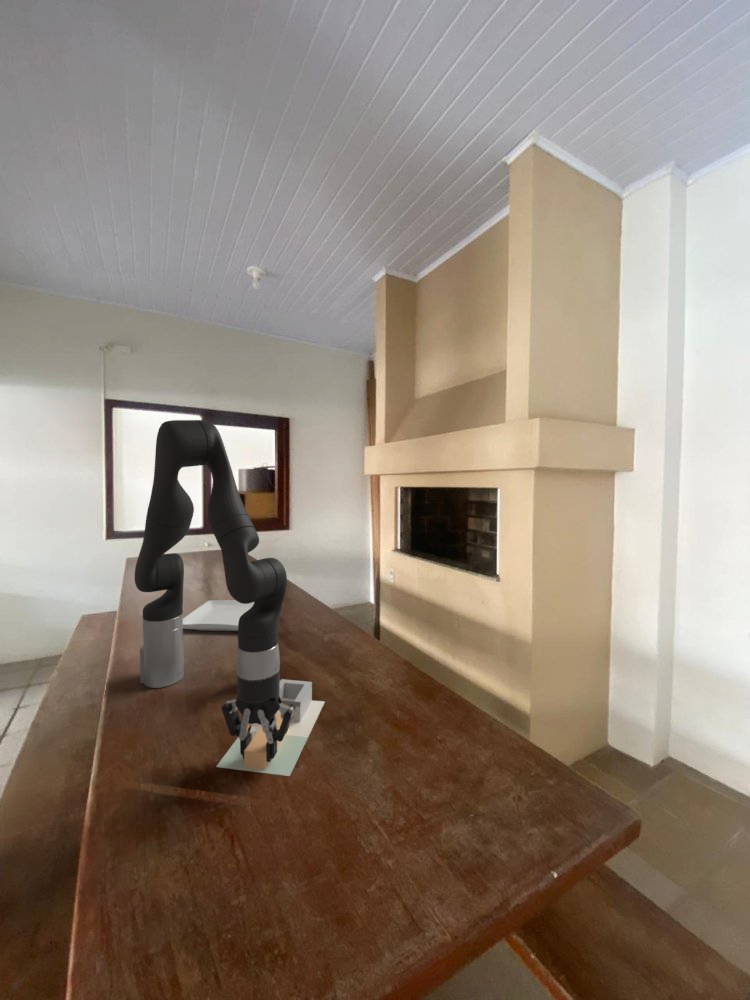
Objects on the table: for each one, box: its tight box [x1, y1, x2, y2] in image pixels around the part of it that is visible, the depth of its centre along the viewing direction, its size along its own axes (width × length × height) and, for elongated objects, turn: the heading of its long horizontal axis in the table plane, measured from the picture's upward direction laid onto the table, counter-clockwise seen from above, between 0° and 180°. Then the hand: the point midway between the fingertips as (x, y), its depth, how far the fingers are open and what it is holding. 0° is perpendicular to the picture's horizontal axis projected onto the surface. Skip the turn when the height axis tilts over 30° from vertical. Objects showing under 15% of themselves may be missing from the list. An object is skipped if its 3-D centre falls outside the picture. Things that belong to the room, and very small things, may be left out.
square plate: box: [183, 599, 254, 632], centre depth 147 cm, size 27×27×4 cm
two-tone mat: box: [215, 678, 326, 777], centre depth 82 cm, size 14×23×6 cm, turn 172°
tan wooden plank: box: [244, 712, 283, 769], centre depth 77 cm, size 4×12×3 cm, turn 172°
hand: (259, 756), depth 73 cm, fingers closed on tan wooden plank, 4 cm apart
